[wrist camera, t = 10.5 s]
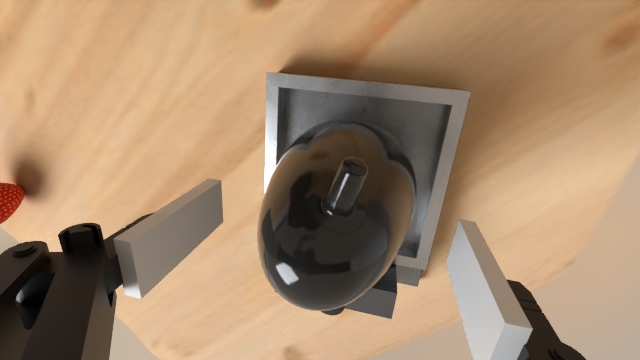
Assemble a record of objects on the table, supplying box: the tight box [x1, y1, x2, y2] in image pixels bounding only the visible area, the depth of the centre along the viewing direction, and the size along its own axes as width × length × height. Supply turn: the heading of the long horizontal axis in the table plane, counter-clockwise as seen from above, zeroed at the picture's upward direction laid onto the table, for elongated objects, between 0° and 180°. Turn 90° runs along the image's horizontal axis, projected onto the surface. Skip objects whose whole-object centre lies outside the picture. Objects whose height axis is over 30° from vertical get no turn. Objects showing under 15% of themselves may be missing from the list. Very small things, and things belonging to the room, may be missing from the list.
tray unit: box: [265, 72, 471, 319], centre depth 24 cm, size 18×15×7 cm
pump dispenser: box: [257, 119, 417, 311], centre depth 19 cm, size 10×10×15 cm
